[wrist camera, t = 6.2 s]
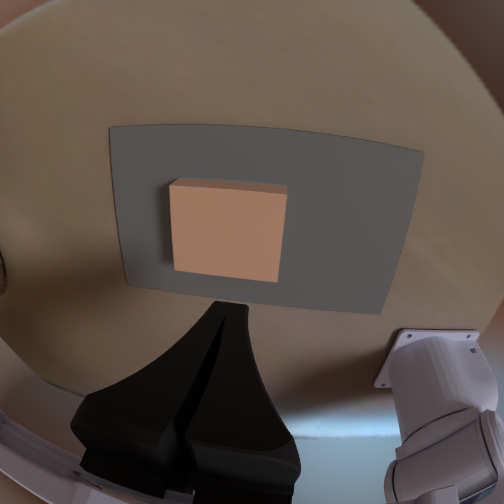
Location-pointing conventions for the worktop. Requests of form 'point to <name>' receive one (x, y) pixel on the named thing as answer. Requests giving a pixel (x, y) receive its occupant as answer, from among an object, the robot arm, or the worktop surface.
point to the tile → (227, 227)
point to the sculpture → (2, 278)
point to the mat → (296, 214)
